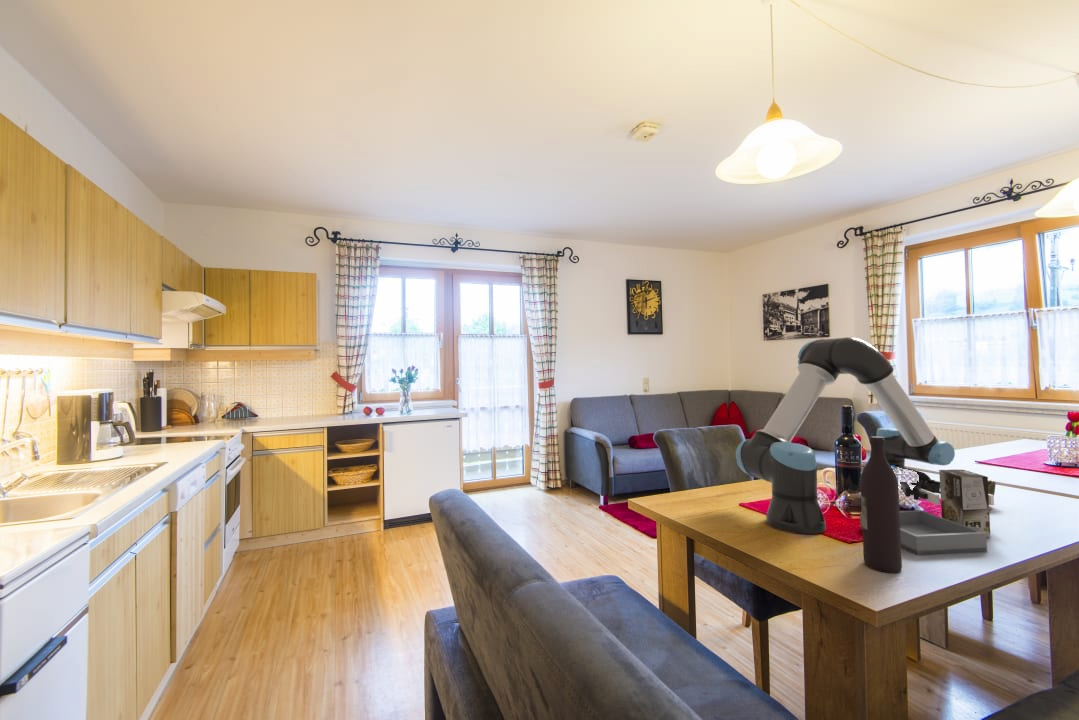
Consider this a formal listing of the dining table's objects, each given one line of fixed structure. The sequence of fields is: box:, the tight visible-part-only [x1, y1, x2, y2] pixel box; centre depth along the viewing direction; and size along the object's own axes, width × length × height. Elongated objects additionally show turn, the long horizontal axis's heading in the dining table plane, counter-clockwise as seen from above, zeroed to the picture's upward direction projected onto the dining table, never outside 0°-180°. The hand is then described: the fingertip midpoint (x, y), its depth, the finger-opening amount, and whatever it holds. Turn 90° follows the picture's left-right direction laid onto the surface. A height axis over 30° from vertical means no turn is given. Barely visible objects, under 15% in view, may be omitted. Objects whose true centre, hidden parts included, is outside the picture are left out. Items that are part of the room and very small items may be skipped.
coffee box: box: [938, 469, 991, 538], centre depth 124 cm, size 9×6×16 cm
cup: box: [988, 480, 996, 496], centre depth 145 cm, size 8×7×8 cm
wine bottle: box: [860, 435, 903, 574], centre depth 104 cm, size 7×7×30 cm
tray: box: [859, 509, 988, 556], centre depth 119 cm, size 18×18×4 cm
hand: (965, 500), depth 124 cm, fingers open, 13 cm apart
